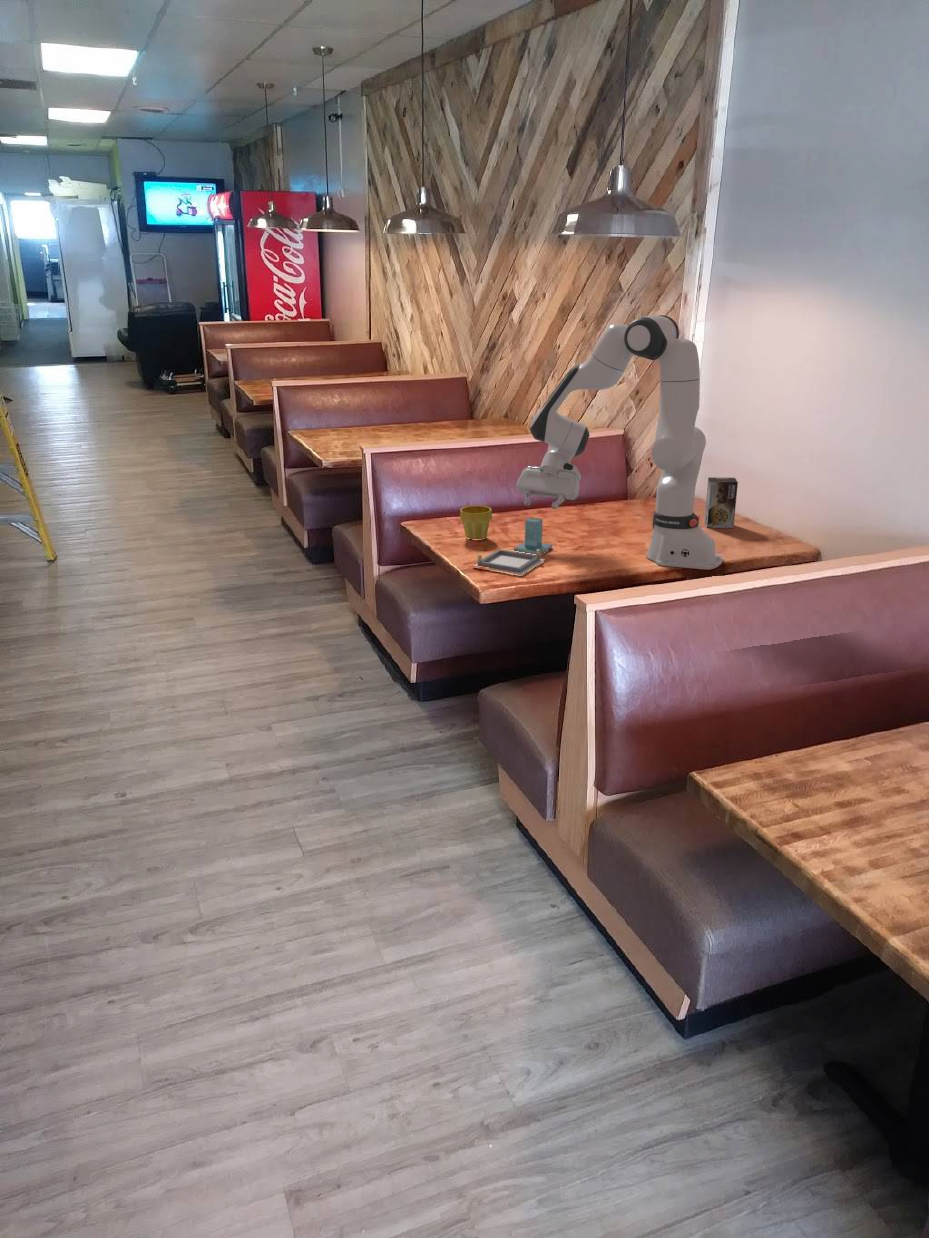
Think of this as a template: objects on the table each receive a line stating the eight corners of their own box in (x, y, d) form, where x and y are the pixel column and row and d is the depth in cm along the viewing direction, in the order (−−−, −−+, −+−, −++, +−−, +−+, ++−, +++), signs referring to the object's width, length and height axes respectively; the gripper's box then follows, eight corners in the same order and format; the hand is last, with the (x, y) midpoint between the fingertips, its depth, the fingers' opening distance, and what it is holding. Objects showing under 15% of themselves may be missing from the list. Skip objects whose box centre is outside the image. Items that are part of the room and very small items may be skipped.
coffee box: (730, 523, 312) (735, 477, 306) (733, 528, 306) (738, 481, 300) (703, 522, 313) (707, 476, 307) (706, 528, 307) (710, 481, 301)
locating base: (544, 561, 274) (545, 549, 272) (521, 577, 260) (522, 563, 259) (497, 554, 281) (497, 541, 279) (472, 568, 268) (472, 555, 266)
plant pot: (453, 537, 297) (453, 508, 294) (477, 531, 304) (477, 503, 300) (474, 544, 290) (474, 515, 286) (498, 538, 296) (498, 509, 293)
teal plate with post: (552, 548, 286) (553, 518, 282) (540, 556, 279) (541, 525, 275) (526, 544, 290) (527, 514, 286) (514, 552, 283) (514, 521, 279)
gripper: (521, 460, 290) (507, 496, 286) (581, 467, 281) (567, 505, 276) (527, 471, 295) (513, 507, 291) (585, 478, 286) (572, 515, 282)
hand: (540, 506), depth 283 cm, fingers open, 8 cm apart
